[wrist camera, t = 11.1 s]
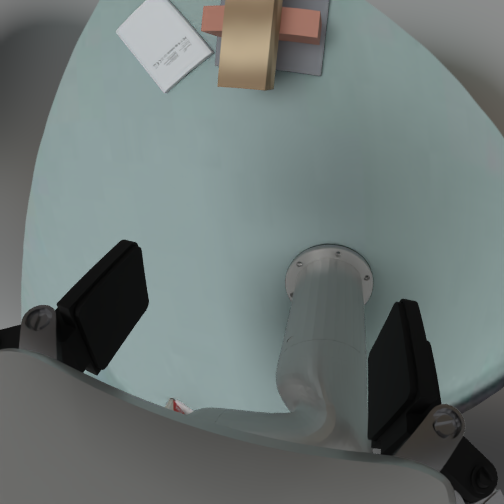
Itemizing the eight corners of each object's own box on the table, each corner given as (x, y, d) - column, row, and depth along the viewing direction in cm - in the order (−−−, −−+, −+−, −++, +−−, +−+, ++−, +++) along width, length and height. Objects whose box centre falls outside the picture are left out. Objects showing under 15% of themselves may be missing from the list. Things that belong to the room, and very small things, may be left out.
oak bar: (273, 89, 26) (264, 90, 22) (231, 85, 26) (217, 86, 23) (287, -41, 18) (280, -56, 15) (244, -41, 19) (232, -56, 15)
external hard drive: (163, -8, 27) (216, 53, 31) (121, 32, 31) (168, 92, 35) (156, -11, 26) (211, 52, 30) (114, 32, 30) (162, 93, 34)
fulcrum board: (320, 76, 30) (318, 74, 24) (217, 66, 32) (193, 64, 26) (329, -2, 24) (328, -20, 19) (224, -8, 26) (202, -24, 20)
